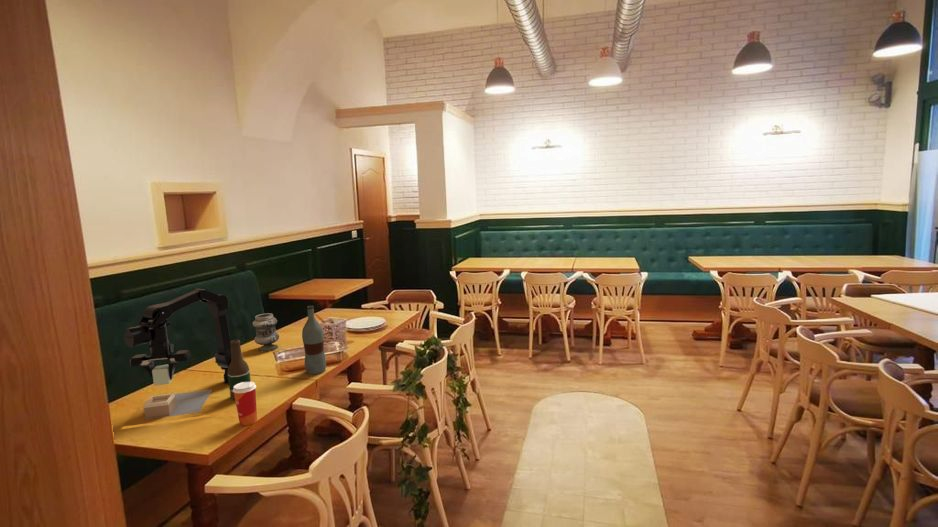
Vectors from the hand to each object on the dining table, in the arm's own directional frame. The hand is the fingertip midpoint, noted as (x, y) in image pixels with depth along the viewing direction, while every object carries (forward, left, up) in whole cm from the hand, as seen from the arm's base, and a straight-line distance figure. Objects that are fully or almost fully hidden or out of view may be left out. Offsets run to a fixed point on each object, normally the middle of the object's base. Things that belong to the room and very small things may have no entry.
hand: (163, 379), depth 187 cm
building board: (-3, -4, -13) cm, 14 cm away
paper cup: (-31, +20, -13) cm, 39 cm away
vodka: (-53, -24, -13) cm, 60 cm away
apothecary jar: (-27, -67, -13) cm, 74 cm away
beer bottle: (-25, -3, -13) cm, 29 cm away
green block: (0, 0, -1) cm, 1 cm away
